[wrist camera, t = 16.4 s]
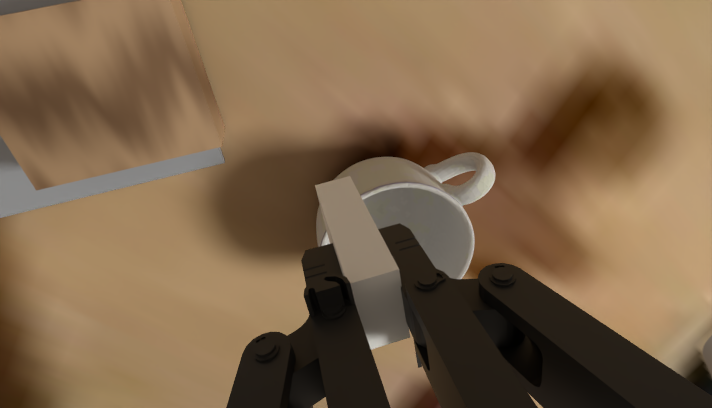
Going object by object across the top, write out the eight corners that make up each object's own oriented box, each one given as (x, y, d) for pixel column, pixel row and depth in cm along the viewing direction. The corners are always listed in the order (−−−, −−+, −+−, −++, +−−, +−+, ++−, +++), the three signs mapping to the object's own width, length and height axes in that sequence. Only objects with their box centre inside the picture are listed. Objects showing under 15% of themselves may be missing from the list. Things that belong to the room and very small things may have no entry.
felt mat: (224, 160, 30) (224, 162, 30) (-8, 217, 29) (-11, 220, 29) (141, -67, 23) (139, -67, 23) (-176, -8, 22) (-183, -7, 21)
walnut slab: (222, 146, 26) (36, 190, 25) (225, 127, 29) (58, 166, 28) (164, -16, 21) (-69, 29, 20) (174, -19, 24) (-28, 20, 23)
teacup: (348, 274, 38) (369, 342, 31) (279, 188, 33) (287, 247, 26) (482, 194, 37) (535, 246, 30) (435, 89, 31) (487, 125, 25)
